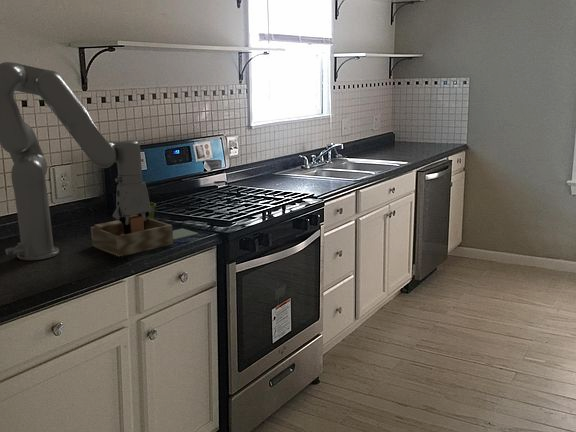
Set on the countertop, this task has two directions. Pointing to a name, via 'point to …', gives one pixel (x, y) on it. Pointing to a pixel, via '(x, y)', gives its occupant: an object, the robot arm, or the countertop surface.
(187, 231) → the mat
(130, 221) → the block
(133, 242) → the crate
